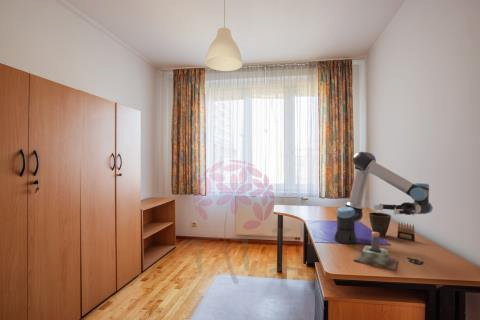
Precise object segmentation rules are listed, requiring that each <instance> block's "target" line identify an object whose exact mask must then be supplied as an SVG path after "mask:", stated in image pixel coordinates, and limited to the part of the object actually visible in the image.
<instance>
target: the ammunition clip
mask: <svg viewBox="0 0 480 320" xmlns="http://www.w3.org/2000/svg"><path fill="white" fill-rule="evenodd" d="M403 223H404V224H403ZM415 231H416V230H415V226H414V224H411V223H410V224H409V223H408V222H407V223H405V222H400V221H399V222H398V224H397V239H400V240H406V241H410V242H416V235H415V234H416V233H415Z"/></svg>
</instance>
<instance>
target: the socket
mask: <svg viewBox="0 0 480 320" xmlns="http://www.w3.org/2000/svg"><path fill="white" fill-rule="evenodd" d="M389 250H390V249H386V248H383V247H382V248H381V247H379V253H378V252H373V251H371V245H370V246H369V245H364V247H363V248H362V250H361V251H360V250H358V252H357V253H356V255H355V256H354V258H353V260H352V261H353V262H356V263H360V264H365V265H369V266H374V267H378V268H382V269H386V270H391V271H396V268H397V262H398V259H397V258H394V257H390V256H389V254H390V253H389V252H390V251H389Z"/></svg>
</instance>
